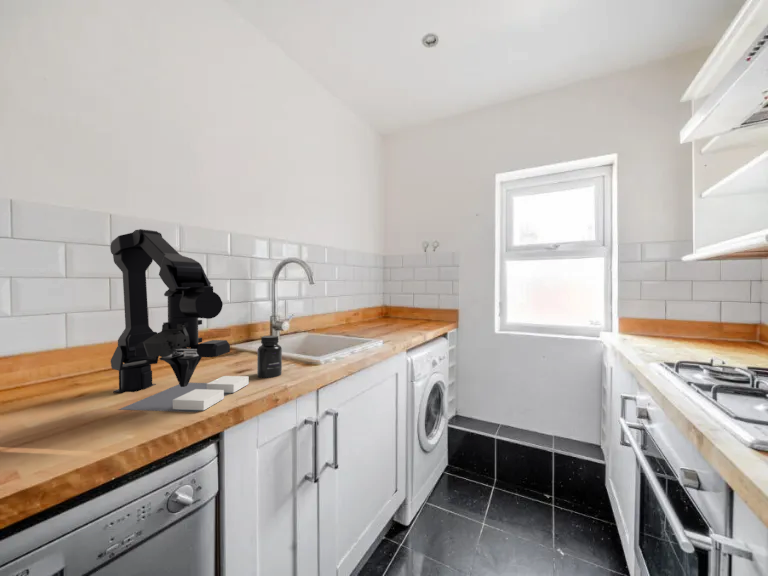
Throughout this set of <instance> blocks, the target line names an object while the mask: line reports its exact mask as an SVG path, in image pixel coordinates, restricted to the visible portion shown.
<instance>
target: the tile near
mask: <svg viewBox="0 0 768 576" xmlns="http://www.w3.org/2000/svg"><path fill="white" fill-rule="evenodd" d="M224 398H225V396H224V390H209V389H195V390H193V391H191V392H188V393H186V394H184V395H182V396H180V397H178V398H176V399H174V400H173V409H175V410H200V411H206V410H207V409H208V408H210V407H212V406H214V405H215V404H217V403H218V402H222V400H223V399H224ZM200 411H199V412H200Z"/></svg>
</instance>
